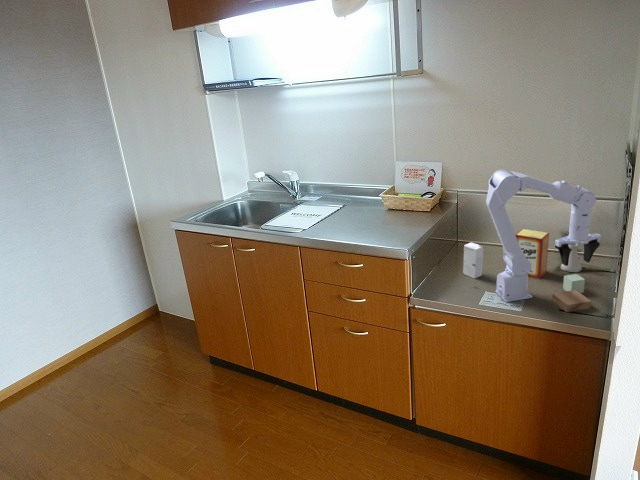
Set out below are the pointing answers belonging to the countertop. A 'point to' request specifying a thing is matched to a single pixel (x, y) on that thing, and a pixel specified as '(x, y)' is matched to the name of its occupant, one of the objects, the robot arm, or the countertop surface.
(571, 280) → the sage block
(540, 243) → the baking soda box
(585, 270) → the countertop surface
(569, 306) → the walnut block
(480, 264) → the skincare box
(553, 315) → the countertop surface
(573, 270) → the flask
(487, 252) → the countertop surface
